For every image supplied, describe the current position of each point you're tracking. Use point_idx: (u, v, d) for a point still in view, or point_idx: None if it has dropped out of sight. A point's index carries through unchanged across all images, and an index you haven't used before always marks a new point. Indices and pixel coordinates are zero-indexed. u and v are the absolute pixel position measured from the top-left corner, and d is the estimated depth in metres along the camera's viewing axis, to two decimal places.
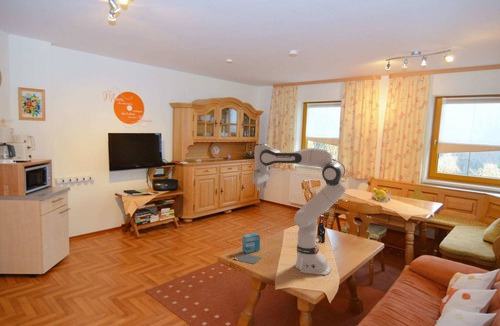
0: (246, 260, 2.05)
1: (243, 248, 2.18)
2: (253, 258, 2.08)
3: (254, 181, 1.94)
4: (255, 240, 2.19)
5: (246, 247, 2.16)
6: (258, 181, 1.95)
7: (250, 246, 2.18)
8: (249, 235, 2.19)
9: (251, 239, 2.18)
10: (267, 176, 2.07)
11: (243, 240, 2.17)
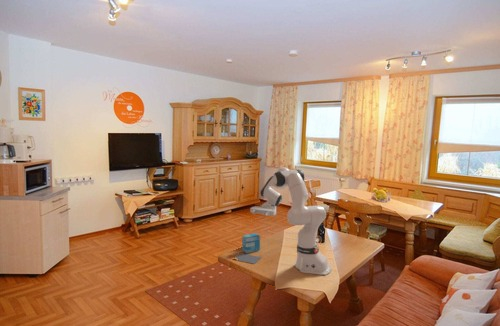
0: (246, 260, 2.05)
1: (243, 248, 2.18)
2: (253, 258, 2.08)
3: None
4: (255, 240, 2.19)
5: (246, 247, 2.16)
6: (252, 207, 2.41)
7: (250, 246, 2.18)
8: (249, 235, 2.19)
9: (251, 239, 2.18)
10: (269, 209, 2.36)
11: (243, 240, 2.17)
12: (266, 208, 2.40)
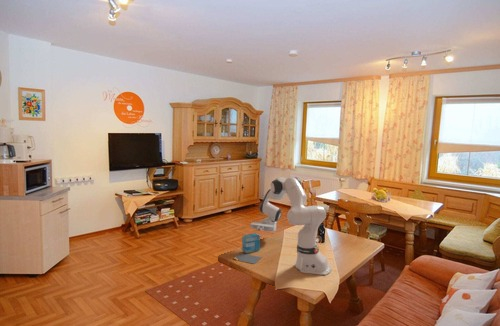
0: (246, 260, 2.05)
1: (243, 248, 2.18)
2: (253, 258, 2.08)
3: None
4: (255, 240, 2.19)
5: (246, 247, 2.16)
6: (252, 223, 2.41)
7: (250, 246, 2.18)
8: (249, 235, 2.19)
9: (251, 239, 2.18)
10: (269, 225, 2.36)
11: (243, 240, 2.17)
12: (266, 224, 2.40)
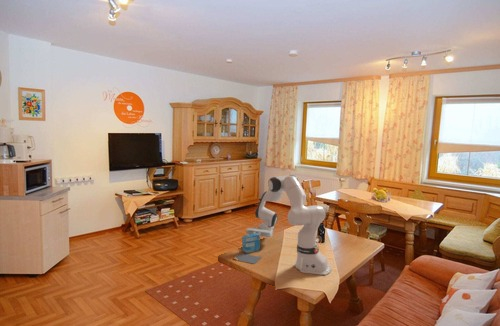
0: (246, 260, 2.05)
1: (243, 248, 2.18)
2: (253, 258, 2.08)
3: None
4: (255, 240, 2.19)
5: (246, 247, 2.16)
6: (248, 228, 2.34)
7: (250, 246, 2.18)
8: (249, 235, 2.19)
9: (251, 239, 2.18)
10: (266, 230, 2.29)
11: (243, 240, 2.17)
12: (262, 229, 2.33)
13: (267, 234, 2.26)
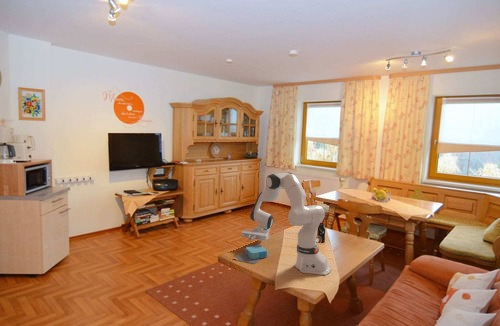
0: (246, 260, 2.05)
1: (246, 251, 2.13)
2: None
3: None
4: None
5: None
6: (244, 231, 2.28)
7: None
8: (258, 255, 2.07)
9: None
10: (261, 233, 2.22)
11: (250, 255, 2.08)
12: (258, 232, 2.27)
13: (263, 237, 2.19)
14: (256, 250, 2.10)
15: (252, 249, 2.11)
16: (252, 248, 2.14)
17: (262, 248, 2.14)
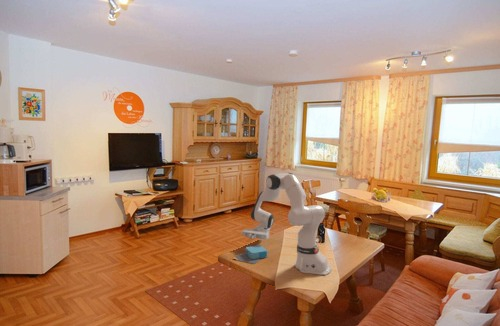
0: (246, 260, 2.05)
1: (246, 251, 2.13)
2: None
3: None
4: None
5: None
6: (244, 230, 2.29)
7: None
8: (258, 255, 2.07)
9: None
10: (262, 232, 2.24)
11: (250, 255, 2.08)
12: (258, 231, 2.28)
13: (263, 236, 2.20)
14: (256, 250, 2.10)
15: (252, 249, 2.11)
16: (252, 248, 2.14)
17: (262, 248, 2.14)
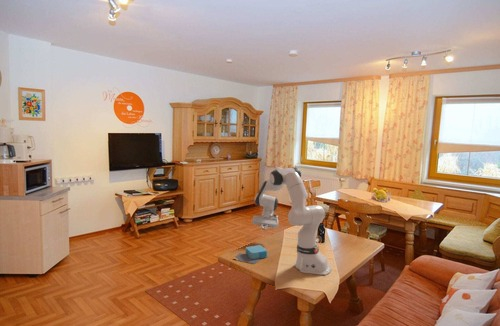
0: (246, 260, 2.05)
1: (246, 251, 2.13)
2: None
3: None
4: None
5: None
6: (254, 219, 2.35)
7: None
8: (258, 255, 2.07)
9: None
10: (272, 221, 2.34)
11: (250, 255, 2.08)
12: (268, 219, 2.37)
13: (275, 226, 2.32)
14: (256, 250, 2.10)
15: (252, 249, 2.11)
16: (252, 248, 2.14)
17: (262, 248, 2.14)
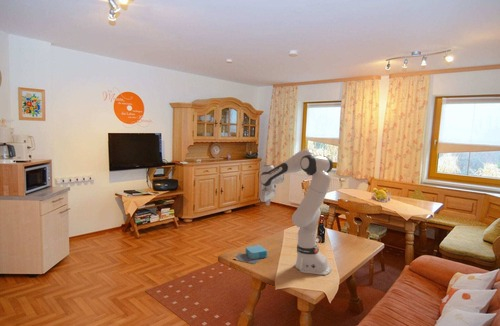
0: (246, 260, 2.05)
1: (246, 251, 2.13)
2: None
3: (262, 199, 2.18)
4: None
5: None
6: (265, 199, 2.19)
7: None
8: (258, 255, 2.07)
9: None
10: (273, 193, 2.31)
11: (250, 255, 2.08)
12: None
13: None
14: (256, 250, 2.10)
15: (252, 249, 2.11)
16: (252, 248, 2.14)
17: (262, 248, 2.14)
